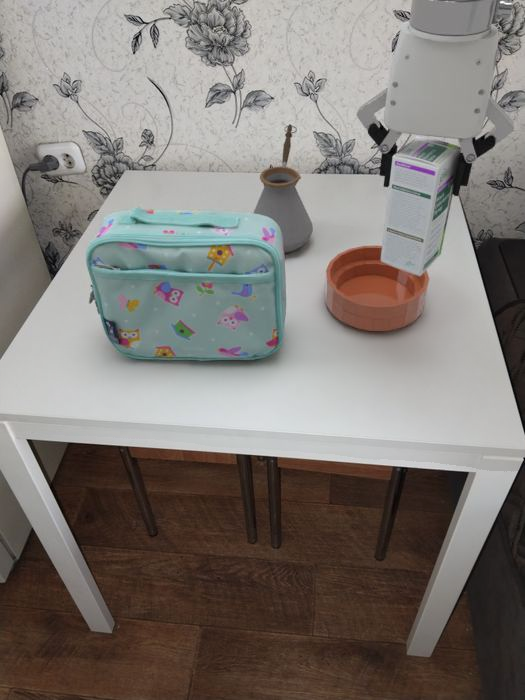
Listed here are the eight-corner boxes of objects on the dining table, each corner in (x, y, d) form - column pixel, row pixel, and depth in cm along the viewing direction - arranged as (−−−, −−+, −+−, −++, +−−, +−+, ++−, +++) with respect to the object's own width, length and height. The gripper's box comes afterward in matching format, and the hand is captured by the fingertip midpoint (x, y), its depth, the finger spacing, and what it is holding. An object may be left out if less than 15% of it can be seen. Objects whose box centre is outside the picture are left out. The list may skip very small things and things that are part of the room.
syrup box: (421, 278, 72) (443, 167, 61) (377, 261, 74) (392, 152, 64) (441, 255, 75) (465, 146, 65) (398, 240, 77) (415, 133, 67)
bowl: (428, 282, 96) (434, 254, 92) (415, 343, 86) (421, 315, 82) (337, 266, 100) (339, 239, 96) (314, 324, 90) (315, 296, 86)
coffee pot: (309, 262, 101) (311, 182, 90) (243, 258, 103) (237, 179, 92) (320, 198, 116) (322, 123, 106) (262, 195, 118) (259, 121, 107)
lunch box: (99, 365, 85) (58, 240, 70) (116, 318, 92) (82, 195, 77) (285, 368, 83) (283, 240, 68) (287, 320, 90) (286, 195, 76)
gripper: (550, 6, 55) (502, 179, 68) (366, -3, 60) (353, 161, 72) (552, 31, 50) (500, 213, 63) (351, 19, 55) (339, 192, 67)
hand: (422, 184), depth 67 cm, fingers closed on syrup box, 7 cm apart
